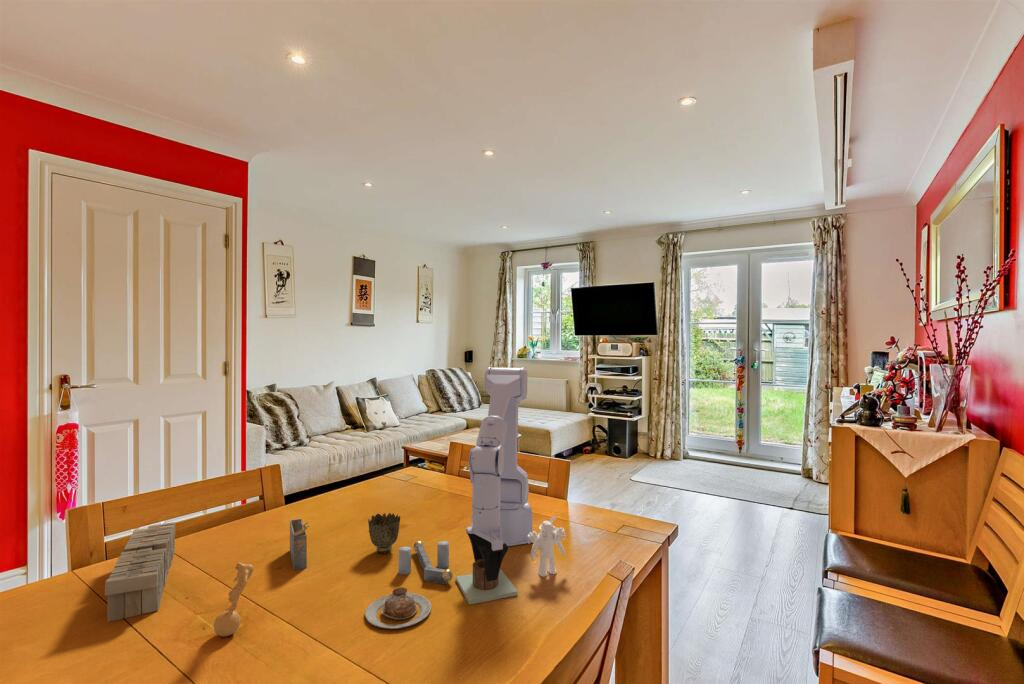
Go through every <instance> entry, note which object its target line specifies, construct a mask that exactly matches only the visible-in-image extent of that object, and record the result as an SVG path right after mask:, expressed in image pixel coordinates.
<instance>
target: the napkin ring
mask: <svg viewBox="0 0 1024 684" xmlns="http://www.w3.org/2000/svg"><path fill="white" fill-rule="evenodd" d="M472 574H473V585H474V587H475V588H476V589H480V590H490V589H494V588H495V587H496V586H497V585H498V584H499V575H498V578H497V580H493V581H487V579H486V576H485V568H484V561H483V559H480V560H477V561H475V560H474V562H473V563H472Z"/></svg>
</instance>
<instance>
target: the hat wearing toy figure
mask: <svg viewBox="0 0 1024 684" xmlns="http://www.w3.org/2000/svg"><path fill="white" fill-rule="evenodd" d="M556 518H557V514H555V515H554V516H553V517H550V518H549V520H544V521H542V523H541V524H539V526H538V528H539V530H540V531H539V532H537V531H535V530H533V532H532V533H531V532H530V533H529V534H528V535H527V538H528V539H529V540H530V542H531V541H532V544H533V545H532V546H531V551H530V560H531V561H532V562H533V561H535V556H536V557H539V567H538V570H537V571H538V575H539V576H541V577H543V578H544V577H547V576H548V573H549V574H551V575H556V574H557V573H558V571H557V569H556V561H555V560H556V559H555V553H554V546H555V544H556V546H557V547H558V554H561V553H562V557H564V556H565V555H566V550H565V548H564V546H563V544H562V542H563V541H564V540H565V539H566V538H567V535H566V529H565V528H564V527H556V526H554V525H553V523H554V521H556ZM530 542H528V543H527V544H528V545H530V544H531V543H530ZM537 550H539V551H540V552H539V554H538V552H537ZM547 560H548V564H547Z"/></svg>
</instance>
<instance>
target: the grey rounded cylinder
mask: <svg viewBox="0 0 1024 684" xmlns="http://www.w3.org/2000/svg"><path fill="white" fill-rule="evenodd" d="M411 572H412V548H411V547H409V546H401V547H399V548H398V574H399V575H402V576H407V575H409V574H410V573H411Z"/></svg>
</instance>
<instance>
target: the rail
mask: <svg viewBox="0 0 1024 684" xmlns="http://www.w3.org/2000/svg"><path fill="white" fill-rule="evenodd" d="M424 546H425V545H424V542H423V541H421V540H416V541H415V542H414V544H413V549H414V551H415V552H416V557H417V559H418V561H419V564H420V566H421V568H422V571H423V581H424V582H427V583H434V584H440V585H445V586H446V585H447V584H448V583H449V582H451V581H452V579H453V577H454V573H453V571H452V570H451V569H450V568H449V569H447V568H438V567H434V566H433V564H432V562H431V560H430V558H429V555H428V554H427V552H426V550H425V547H424Z"/></svg>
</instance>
